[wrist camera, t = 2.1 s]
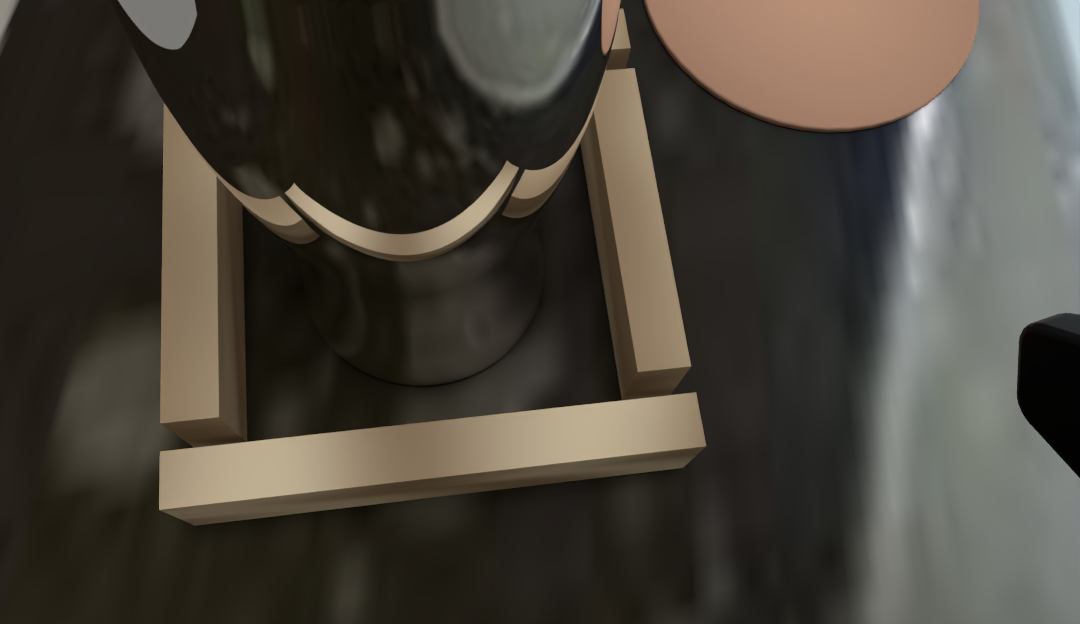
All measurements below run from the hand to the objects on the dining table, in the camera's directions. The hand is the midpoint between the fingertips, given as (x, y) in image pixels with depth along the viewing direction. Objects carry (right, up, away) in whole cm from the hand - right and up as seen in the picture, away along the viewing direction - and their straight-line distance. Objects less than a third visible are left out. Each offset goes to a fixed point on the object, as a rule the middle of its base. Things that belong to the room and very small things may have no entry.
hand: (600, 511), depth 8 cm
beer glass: (-4, +3, +15) cm, 16 cm away
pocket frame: (-3, +3, +15) cm, 16 cm away
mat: (+7, +12, +19) cm, 23 cm away
